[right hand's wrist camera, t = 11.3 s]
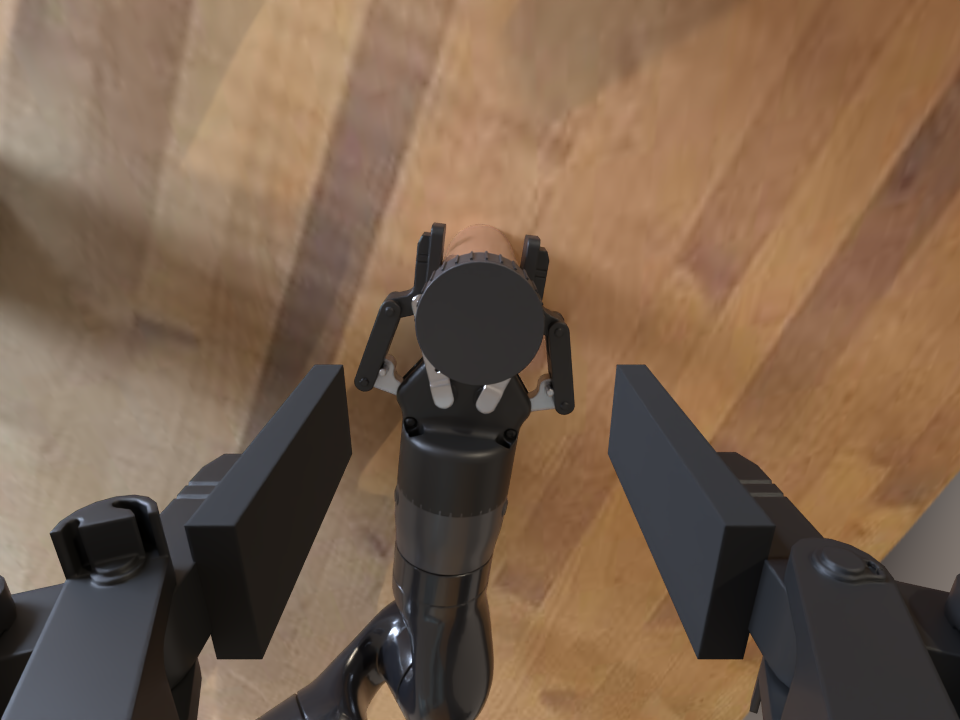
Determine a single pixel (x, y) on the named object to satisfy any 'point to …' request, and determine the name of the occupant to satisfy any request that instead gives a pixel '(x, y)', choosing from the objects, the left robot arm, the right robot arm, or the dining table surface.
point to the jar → (480, 242)
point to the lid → (479, 319)
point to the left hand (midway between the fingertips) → (486, 232)
